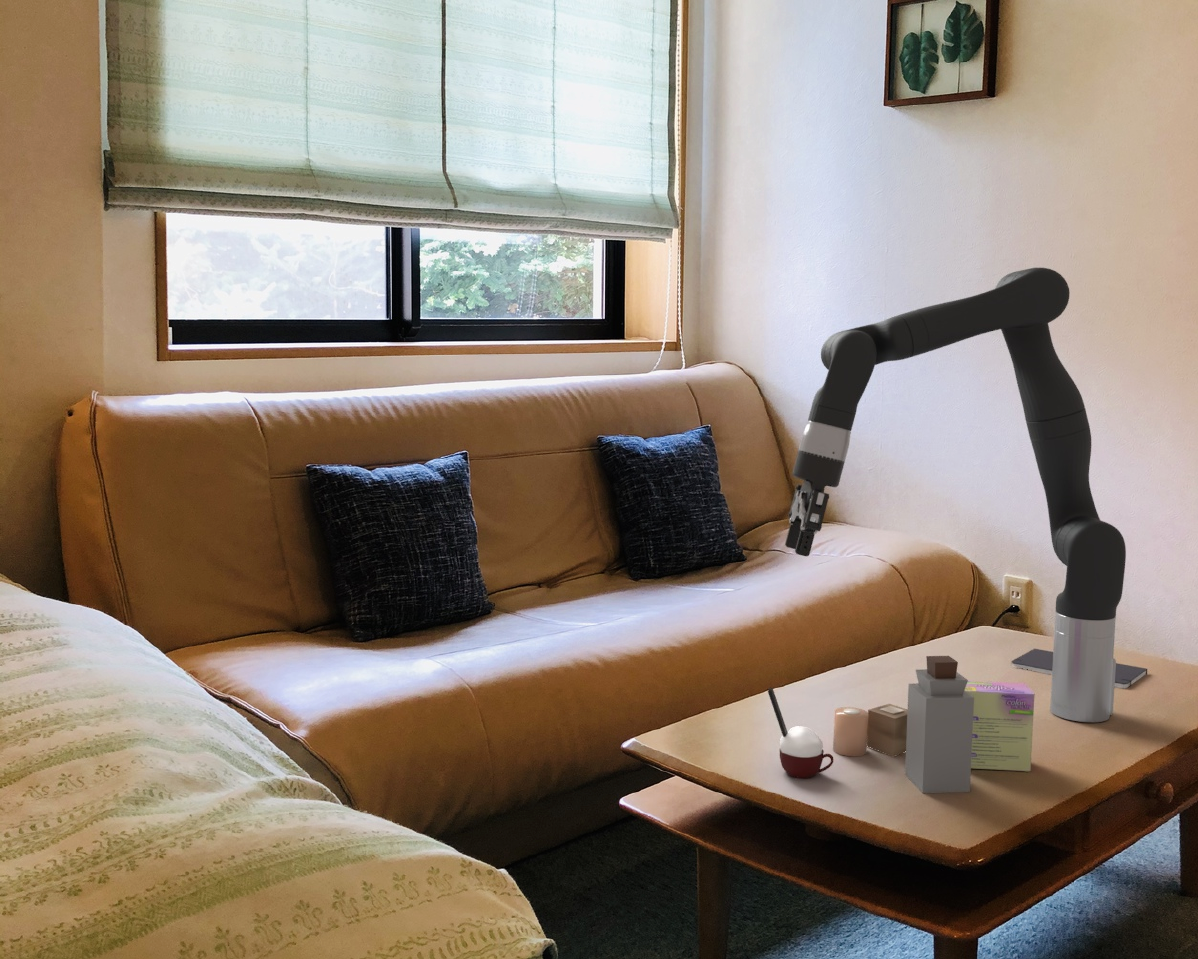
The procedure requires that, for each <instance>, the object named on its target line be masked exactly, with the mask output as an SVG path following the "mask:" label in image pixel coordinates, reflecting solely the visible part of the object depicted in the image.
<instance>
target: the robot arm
mask: <svg viewBox="0 0 1198 959" xmlns="http://www.w3.org/2000/svg"><path fill="white" fill-rule="evenodd" d="M1070 295H1071V294H1070V287H1069V285H1068V282H1067V281H1066V278H1064V276H1063V275H1062V274H1061V273H1059V272H1058V271H1056V270H1054V269H1051V268H1047V267H1032V268H1027V269H1021V270H1018V271H1013V272H1009V273H1008V274H1006V275H1004V276H1003V277H1002V278H1001V279H1000V280H999V281H998V283H997V284H996V285H995V288H993V289H990V290H988V291H985V292H983V293H979V294H975V295H972V296H968V297H964V298H959V299H957V300H951V301H950V300H949V301H946V302H942V303H938V304H933V305H929V306H925V307H921V308H917V309H915V310H911V311H908V312H904V313H901V314H898V315H894V316H891V317H889V318H887V319H884V320H882V321H879V322H876V323H871V324H870V323H869V324H866V325H862V326H858V327H853V328H849V329H846V330H842V331H838V332H836V333H833V334H832V335H830V336H829V337H828V338H827V339H826V340H825V341H824V342H823V345H822V347H821V348H820V349H821V350H820V358H821V362H822V364H823V366H824V368H826V369H827V370H828V371H827V374H826V377H825V380H824V383H823V385H822V386H821V387H820V388H819V389H817V391H816V392H815V395H814V397H813V401H812V404H811V407H810V411H809V415H808V419H807V421H806V422H807V423H806V425H805V427H804V430H803V432H802V436H801V440H800V443H799V448H798V451H797V455H796V458H795V462H794V465H793V469H792V476H793V478H795V479H799V480H803V482H802V484H799V483H797V484H796V486H795V491H794V493H793V494H794V495H793V498H792V501H791V506H790V509H789V513H788V515H787V516H788V518H787V519H789V520H788V523H789V527H788V532H787V535H786V539H785V543H784V546H786V547H787V548H788V549H793V550H794V552H795V554H797V555H798V556H799V555H800V556H803V557H809V556H810V555H811V550H812V546H813V544H814V543H813V542H814V538H815V535H816V534H817V533H818V532H820V531H821V530H822V527H823V526H822V525H823V521H824V517H825V514H826V510H827V506H828V502H829V500H830V493H825V488H826V487H831V488H837V487H839V485H840V481H841V478H842V474H843V469H844V466H845V463H846V458H847V454H848V451H849V446H850V440H851V434H852V429H853V426H854V421H855V418H856V415H857V410H858V405H859V403H860V401H861V398H862V396H863V394H864V393H865V391H866V388H867V386H868V383H869V382H870V380H871V376H872V374H873V371H874V369H875V366H876V365H879V364H883V363H886V362H895V361H901V360H905V359H909V358H913V357H916V356H919V355H922V354H926V353H929V352H932V351H935V350H938V349H940V348H941V349H942V348H943V347H944V348H945V347H946V346H951V345H953V344H956V343H958V342H961V341H965V340H968V339H971V338H973V337H976V336H979V335H983V334H987V333H991V332H994V331H999V330H1001V333H1002V336H1003V338H1004V342H1005V343H1006V346H1007V349H1008V352H1009V356H1010V359H1011V362H1012V365H1013V370H1014V375H1015V379H1016V384H1017V388H1018V392H1019V396H1020V400H1021V404H1022V408H1023V413H1024V420H1025V423H1026V427H1027V431H1028V436H1029V439H1030V443H1031V447H1032V450H1033V453H1034V457H1035V461H1036V464H1037V469H1038V473H1039V476H1040V479H1041V482H1042V486H1043V490H1044V493H1045V498H1046V505H1047V511H1048V520H1049V528H1050V537H1051V543H1052V547H1053V548H1052V549H1053V551H1054V553H1055V555H1056V557H1057V559H1058V560H1059V561H1060V562H1061V563H1062V564H1063V565H1065V566H1066V573H1065V582H1064V583H1065V584H1064V588H1063V591H1062V592H1060V593H1058V594H1057V596H1056V598H1055V599H1056V600H1055V612H1054V630H1053V649H1052V650H1053V651H1052V652H1053V667H1052V675H1051V687H1050V689H1051V691H1050V707H1049V708H1050V709H1049V711H1050V712H1051V714H1053V715H1055V716H1057V717H1059V718H1062V719H1065V720H1069V721H1074V722H1075V721H1076V722H1080V723H1081V722H1083V723H1101V722H1105V721H1108V720H1109V719H1110V716H1111V715H1113V713H1114V702H1115V701H1114V700H1115V699H1114V698H1115V688H1116V687H1115V670H1116V663H1117V660H1116V659H1115V658H1114V654H1115V653H1114V652H1115V639H1116V638H1115V637H1116V636H1115V633H1116V617H1117V608H1118V606H1119V604H1120V602H1121V599H1122V597H1123V596H1122V595H1123V589H1124V581H1125V580H1124V579H1125V573H1126V572H1125V569H1126V560H1127V557H1126V556H1127V551H1126V550H1127V549H1126V548H1127V547H1126V542H1125V539H1124V537H1123V534H1122V533H1121V531H1120V530H1119V529H1118V528H1116V527H1115V526H1114V525H1113V524H1110V523H1109V522H1106V521H1103V520H1101V518H1100V517H1099V513H1098V511H1097V508H1096V505H1095V501H1094V498H1093V494H1092V491H1091V490H1092V489H1091V486H1090V485H1091V484H1090V466H1091V456H1092V434H1091V433H1092V432H1091V428H1090V426H1091V425H1090V423H1089V419H1088V415H1087V410H1086V406H1085V402H1084V400H1083V397H1082V394H1081V392H1080V389H1078V387H1077V385H1076V383H1075V382H1074V380H1073V378H1072V376H1071V375H1070V374H1069V372H1068V371H1067V369H1066V368H1065V366H1064V365H1063V363H1062V362H1061V360H1060V358H1059V356H1058V354H1057V353H1056V349H1055V347H1054V343H1053V340H1052V337H1051V336H1052V335H1051V330H1050V327H1049V323H1051V322H1053V321H1055V320H1056V319H1058V318H1059V317H1060V316H1061V315H1062V314H1063V313H1064V312H1065V310H1066V309H1067V307H1068V304H1069V299H1070Z"/></svg>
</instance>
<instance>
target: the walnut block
mask: <svg viewBox="0 0 1198 959" xmlns="http://www.w3.org/2000/svg"><path fill="white" fill-rule="evenodd" d="M867 712H868V732H867V746H868V747H871V748H873V749H876V750H879V751H881V752H884V753H886V754H885V755H887V754H889V755H888V756H890V755H891V756H890V757H892V756H894V757H896V756H895V755H897V756H899V755H898V754H900V753H903V752H905V751H906V738H907V712H908V708H907V709H906V708H904V707H902V706H901V707H900V706H898V705H895V704H891V703H887V704H883V705H880V706H877V707H874V708H869V709H867ZM868 747H867V748H868ZM871 748H870V749H871ZM873 749H872V750H873ZM876 750H875V751H876ZM879 751H878V752H879ZM881 752H880V753H881ZM884 753H883V754H884ZM903 754H904V753H903ZM900 755H901V754H900Z"/></svg>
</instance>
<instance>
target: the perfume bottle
mask: <svg viewBox="0 0 1198 959" xmlns="http://www.w3.org/2000/svg"><path fill="white" fill-rule="evenodd" d="M958 664H959V662H958V661H957V660H956V659H954V658H953V657H952V656H949V655H926V669H915V673H916V677H917V678H916V679H917V681H918V683H908V690H907V710H908V712H907V738H906V753H905V763H904V764H905V766H904V768H905V770H904V775H905V776H906V777H907V778H908V780H910V781H911V783H912V784H913V785H914V786H915V787H916V788H917V789H918V790H919V791H920V792H921V793H922V794H937V793H938V794H940V793H941V794H942V793H966V792H967V793H970V791H971V774H972V773H971V770H972V768H971V754H972V732H973V710H974V697H973V696H972V695H970V694H969V693H968V692H966V691H965V687H966V684H967V682H968V681H969V679H967V678H966V677H965V676H963V675H961V673H959V672H957V670H958V666H959V665H958Z"/></svg>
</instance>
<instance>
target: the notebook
mask: <svg viewBox="0 0 1198 959" xmlns="http://www.w3.org/2000/svg"><path fill="white" fill-rule="evenodd" d="M1010 662H1011V664H1012V665H1013V666H1015V667H1019V668H1023V669H1022V670H1025V669H1028V670H1027V671H1030V670H1032V671H1031V672H1035V671H1037V672H1036V673H1040V672H1041V673H1040V674H1045V675H1046V674H1047V675H1051V676H1052V667H1053V651H1049V650H1044V649H1039V648H1033V649H1031V650H1030V651H1027V652H1026V653H1023V654H1022V655H1020V656H1018V657H1016V658H1014V659H1013V660H1011V661H1010ZM1013 666H1012V667H1013ZM1015 667H1014V668H1015ZM1019 668H1018V669H1019ZM1146 675H1148V668H1144V667H1138V666H1135V665H1128V664H1123V663H1118V662H1116V670H1115V687H1114V688H1117V687H1118V689H1128V688H1129V687H1130V686H1132V685H1133V684H1134V683H1135V682H1137V681H1138V680H1140V679H1141V678H1143V677H1144V676H1146ZM1131 684H1132V685H1131Z"/></svg>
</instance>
